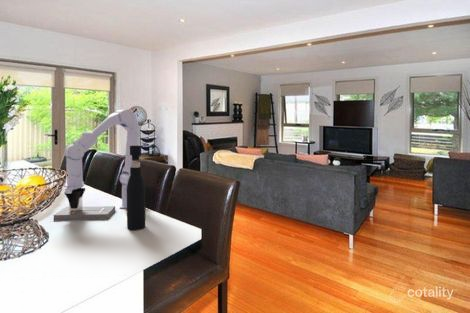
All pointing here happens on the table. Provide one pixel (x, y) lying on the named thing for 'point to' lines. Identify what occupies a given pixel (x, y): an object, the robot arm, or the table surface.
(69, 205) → the fader knob
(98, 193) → the table surface
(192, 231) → the table surface
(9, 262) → the table surface
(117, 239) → the table surface
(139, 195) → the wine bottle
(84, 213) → the fader console
